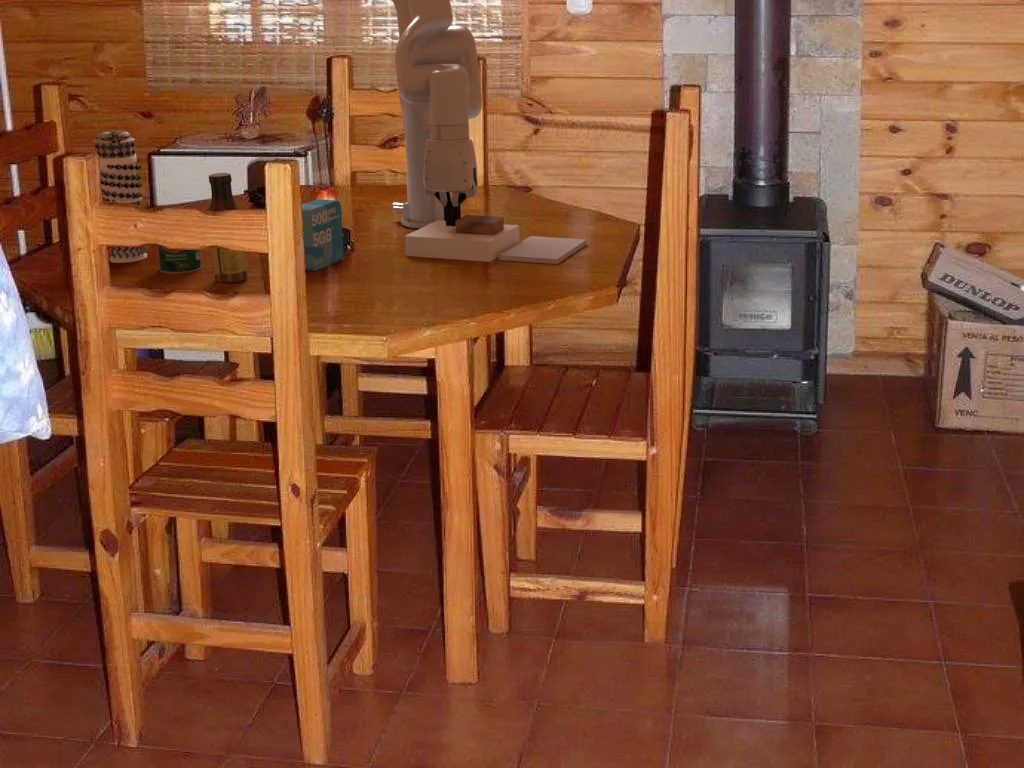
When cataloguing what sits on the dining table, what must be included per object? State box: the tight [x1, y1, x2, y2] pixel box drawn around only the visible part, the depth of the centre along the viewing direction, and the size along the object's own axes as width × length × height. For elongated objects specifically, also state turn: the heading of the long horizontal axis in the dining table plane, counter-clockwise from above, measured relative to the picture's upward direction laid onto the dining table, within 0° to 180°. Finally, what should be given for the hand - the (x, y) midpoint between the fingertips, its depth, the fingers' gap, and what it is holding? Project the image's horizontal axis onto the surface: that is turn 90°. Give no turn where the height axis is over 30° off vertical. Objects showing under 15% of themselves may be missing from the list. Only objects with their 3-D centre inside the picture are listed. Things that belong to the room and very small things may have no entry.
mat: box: [498, 235, 587, 265], centre depth 295 cm, size 12×18×1 cm, turn 159°
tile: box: [455, 214, 505, 235], centre depth 295 cm, size 8×6×2 cm
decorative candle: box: [92, 130, 148, 264], centre depth 292 cm, size 9×9×25 cm
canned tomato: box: [157, 245, 202, 275], centre depth 284 cm, size 8×8×11 cm
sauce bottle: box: [208, 172, 248, 284], centre depth 274 cm, size 6×6×20 cm
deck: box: [404, 220, 520, 263], centre depth 297 cm, size 18×16×4 cm
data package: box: [301, 198, 344, 272], centre depth 286 cm, size 12×4×12 cm, turn 156°
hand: (452, 224), depth 297 cm, fingers closed
